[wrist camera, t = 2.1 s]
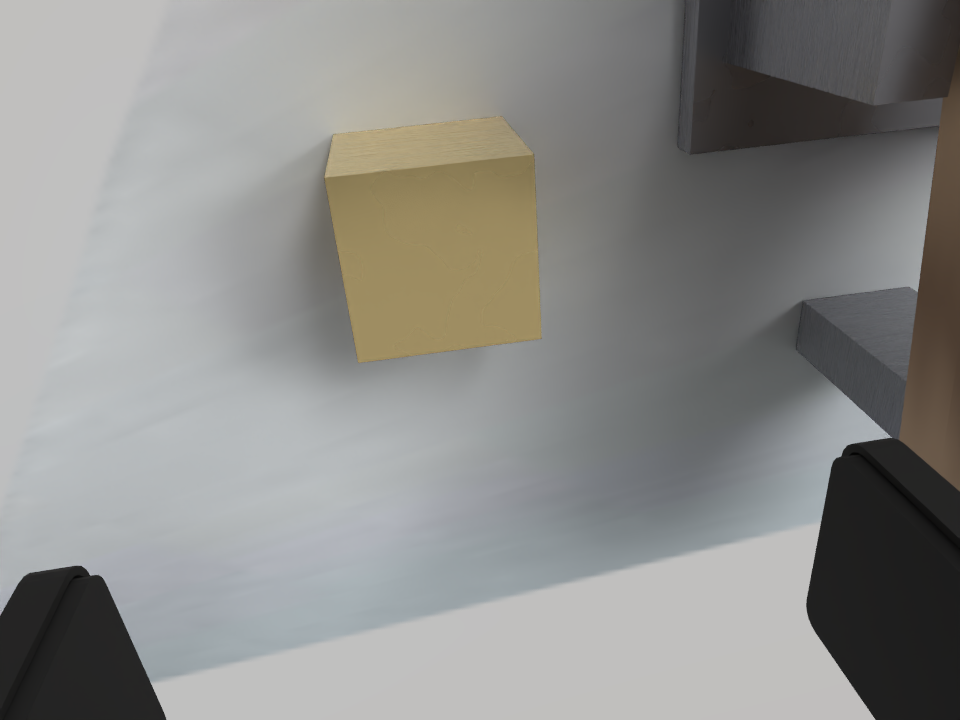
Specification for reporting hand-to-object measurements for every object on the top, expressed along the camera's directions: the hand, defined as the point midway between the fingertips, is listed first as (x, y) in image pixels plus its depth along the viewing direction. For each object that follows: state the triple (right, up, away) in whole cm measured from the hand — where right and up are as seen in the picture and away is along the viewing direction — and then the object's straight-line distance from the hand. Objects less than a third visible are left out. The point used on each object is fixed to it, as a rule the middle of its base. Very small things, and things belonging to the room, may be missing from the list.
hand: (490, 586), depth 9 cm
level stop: (+14, +5, +17) cm, 22 cm away
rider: (-2, +8, +13) cm, 16 cm away
